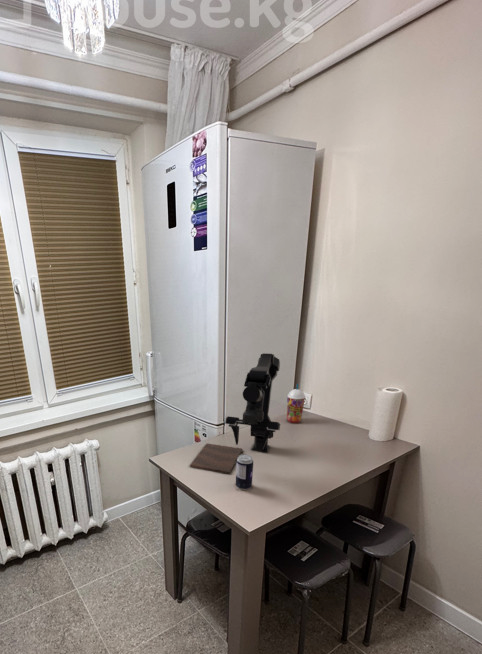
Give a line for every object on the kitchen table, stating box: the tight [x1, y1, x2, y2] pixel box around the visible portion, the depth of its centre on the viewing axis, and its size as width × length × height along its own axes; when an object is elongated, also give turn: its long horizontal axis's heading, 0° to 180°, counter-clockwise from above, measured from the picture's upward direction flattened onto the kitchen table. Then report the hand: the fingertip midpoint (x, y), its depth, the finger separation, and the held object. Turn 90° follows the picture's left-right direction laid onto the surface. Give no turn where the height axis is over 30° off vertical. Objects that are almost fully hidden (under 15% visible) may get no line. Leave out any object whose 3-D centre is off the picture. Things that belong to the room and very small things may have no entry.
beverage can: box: [235, 453, 254, 491], centre depth 127 cm, size 6×6×12 cm
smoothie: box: [286, 383, 306, 424], centre depth 181 cm, size 8×8×20 cm
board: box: [189, 443, 243, 475], centre depth 150 cm, size 22×16×1 cm
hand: (249, 446), depth 130 cm, fingers open, 9 cm apart
